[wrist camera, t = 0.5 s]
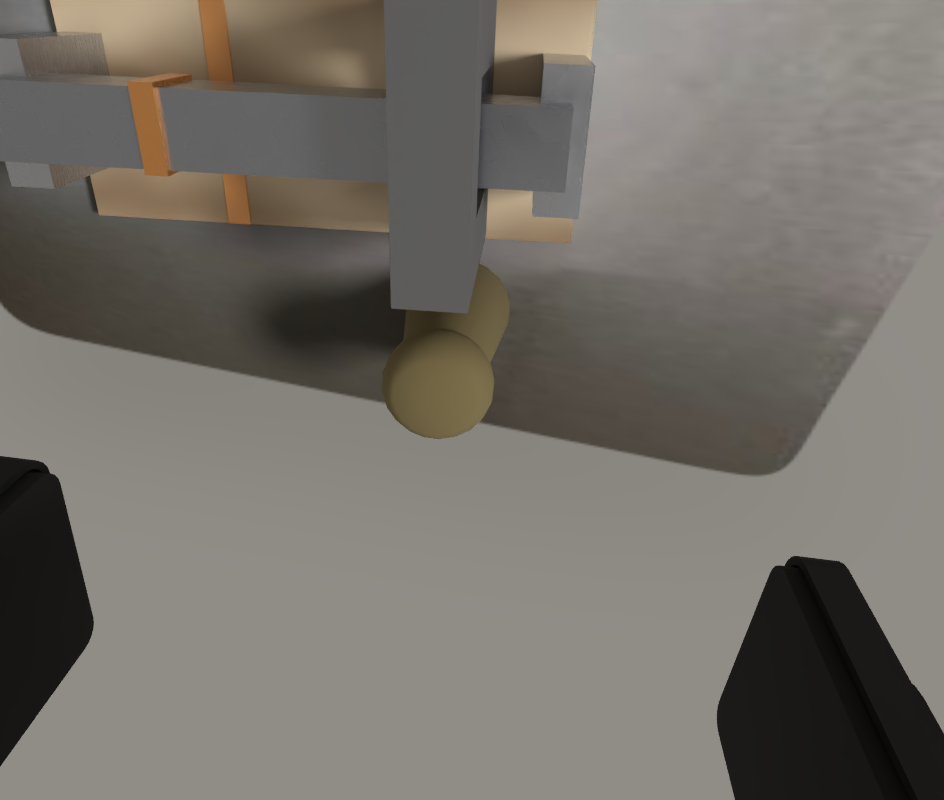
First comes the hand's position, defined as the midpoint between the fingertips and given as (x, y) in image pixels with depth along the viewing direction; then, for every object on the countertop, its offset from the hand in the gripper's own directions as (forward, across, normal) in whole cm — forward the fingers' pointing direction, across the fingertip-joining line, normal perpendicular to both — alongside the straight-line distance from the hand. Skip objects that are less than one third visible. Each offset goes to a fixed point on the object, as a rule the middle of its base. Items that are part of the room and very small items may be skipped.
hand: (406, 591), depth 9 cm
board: (+31, +9, -2) cm, 32 cm away
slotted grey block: (+29, +2, -2) cm, 29 cm away
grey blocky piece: (+31, +9, -2) cm, 32 cm away
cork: (+31, +2, +8) cm, 32 cm away
